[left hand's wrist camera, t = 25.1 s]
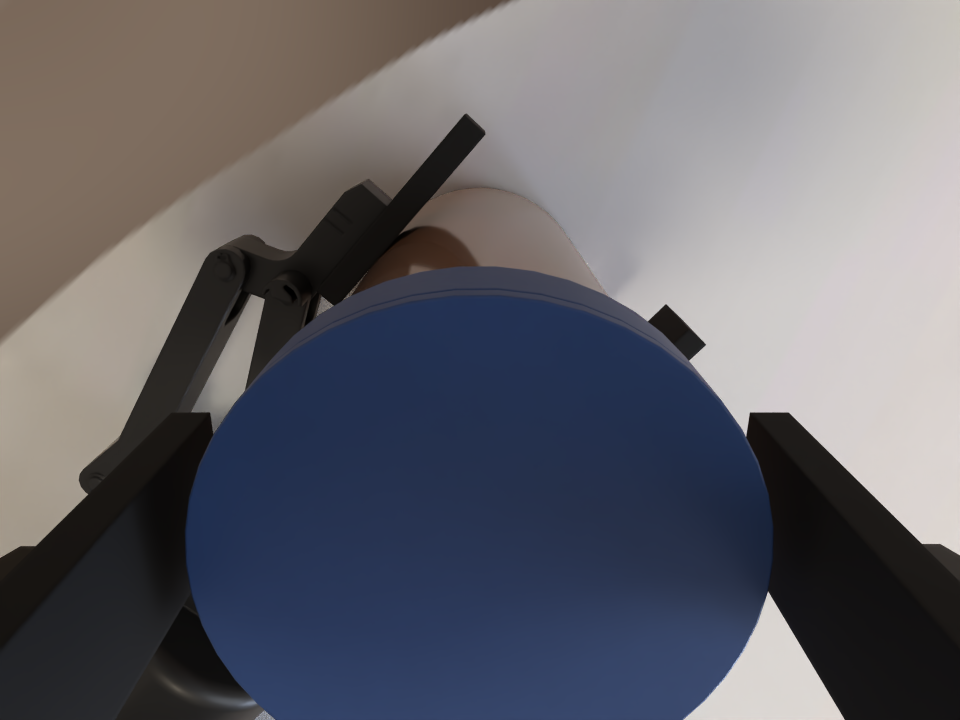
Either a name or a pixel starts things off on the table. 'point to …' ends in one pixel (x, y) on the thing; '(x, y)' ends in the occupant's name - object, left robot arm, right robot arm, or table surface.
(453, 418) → the lid
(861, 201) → the table surface
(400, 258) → the jar
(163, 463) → the left robot arm
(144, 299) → the table surface
